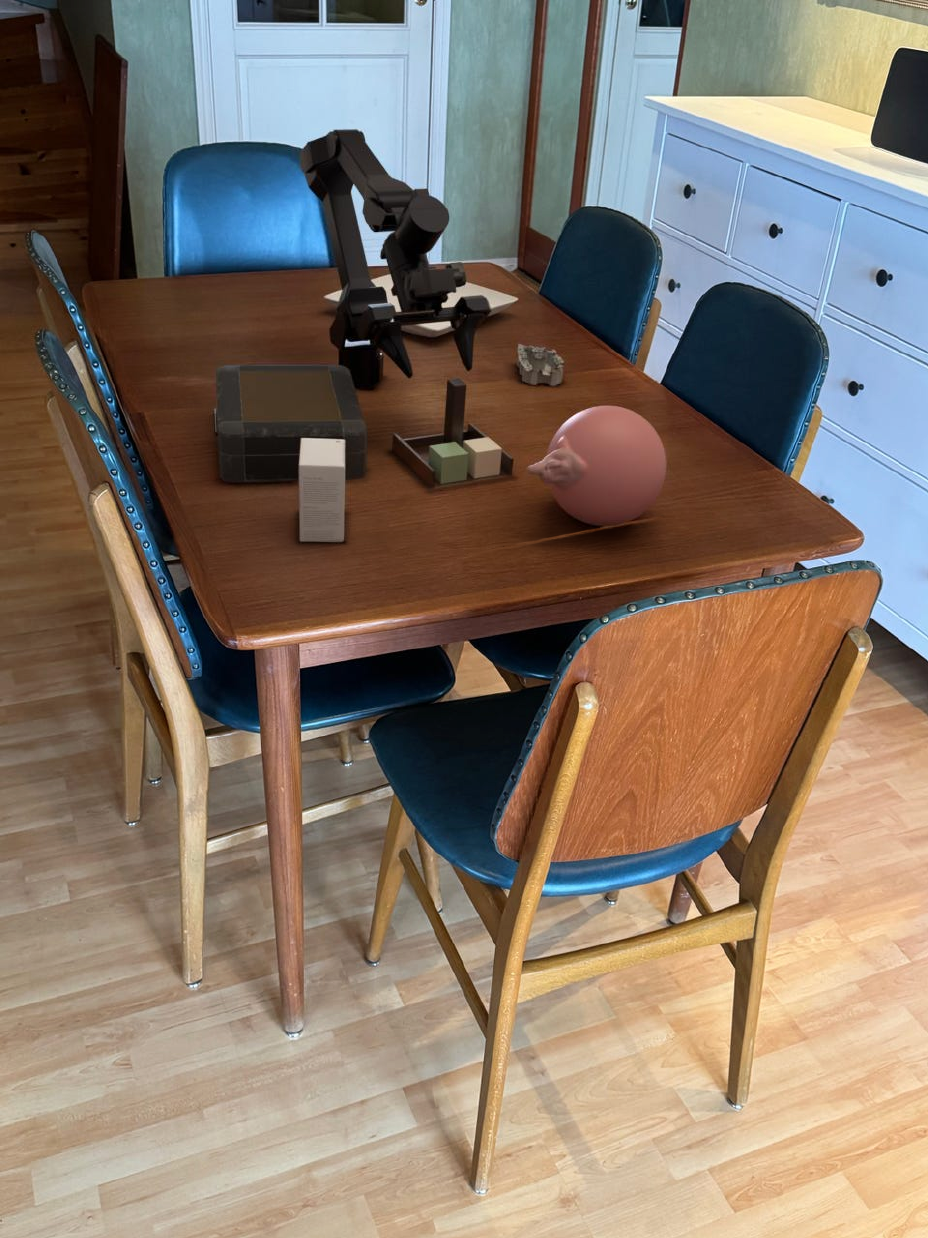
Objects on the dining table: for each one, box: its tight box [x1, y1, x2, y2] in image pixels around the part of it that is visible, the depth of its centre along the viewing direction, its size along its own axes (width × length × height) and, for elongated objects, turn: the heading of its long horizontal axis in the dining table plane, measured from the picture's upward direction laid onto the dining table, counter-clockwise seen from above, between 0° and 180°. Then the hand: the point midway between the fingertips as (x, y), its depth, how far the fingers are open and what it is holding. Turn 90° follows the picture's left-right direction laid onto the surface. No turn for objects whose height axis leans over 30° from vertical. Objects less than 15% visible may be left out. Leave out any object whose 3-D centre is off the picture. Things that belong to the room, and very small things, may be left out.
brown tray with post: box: [391, 378, 515, 489], centre depth 154 cm, size 13×13×12 cm
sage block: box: [429, 442, 468, 484], centre depth 152 cm, size 4×4×4 cm
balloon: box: [526, 405, 667, 527], centre depth 142 cm, size 15×20×15 cm
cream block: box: [463, 436, 503, 478], centre depth 154 cm, size 4×4×4 cm
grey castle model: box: [516, 343, 565, 387], centre depth 189 cm, size 11×8×4 cm
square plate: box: [323, 273, 519, 338], centre depth 213 cm, size 27×27×4 cm
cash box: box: [212, 364, 368, 484], centre depth 157 cm, size 25×20×8 cm
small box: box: [298, 438, 346, 543], centre depth 137 cm, size 8×6×10 cm
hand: (440, 373), depth 155 cm, fingers open, 9 cm apart
